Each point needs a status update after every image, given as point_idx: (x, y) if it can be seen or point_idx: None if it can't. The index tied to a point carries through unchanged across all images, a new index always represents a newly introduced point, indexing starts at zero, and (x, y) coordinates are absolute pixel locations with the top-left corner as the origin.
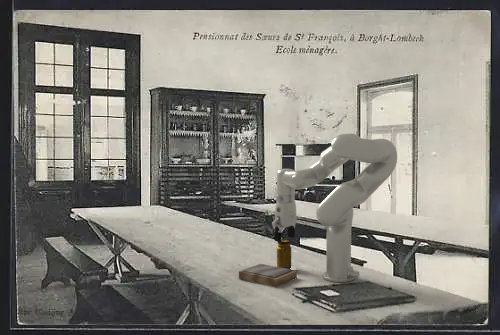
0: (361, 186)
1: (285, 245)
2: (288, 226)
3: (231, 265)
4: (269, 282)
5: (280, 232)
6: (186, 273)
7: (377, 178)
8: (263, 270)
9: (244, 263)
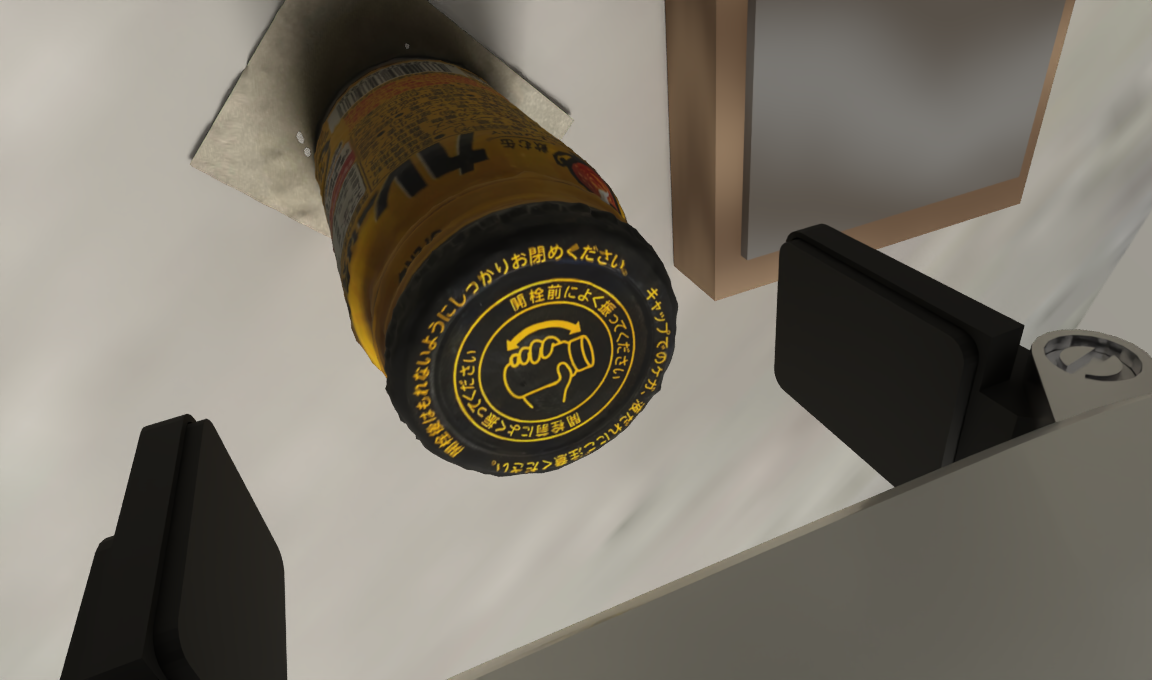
0: None
1: (599, 207)
2: (896, 488)
3: (689, 520)
4: None
5: (1013, 349)
6: None
7: None
8: (954, 18)
9: (579, 528)
